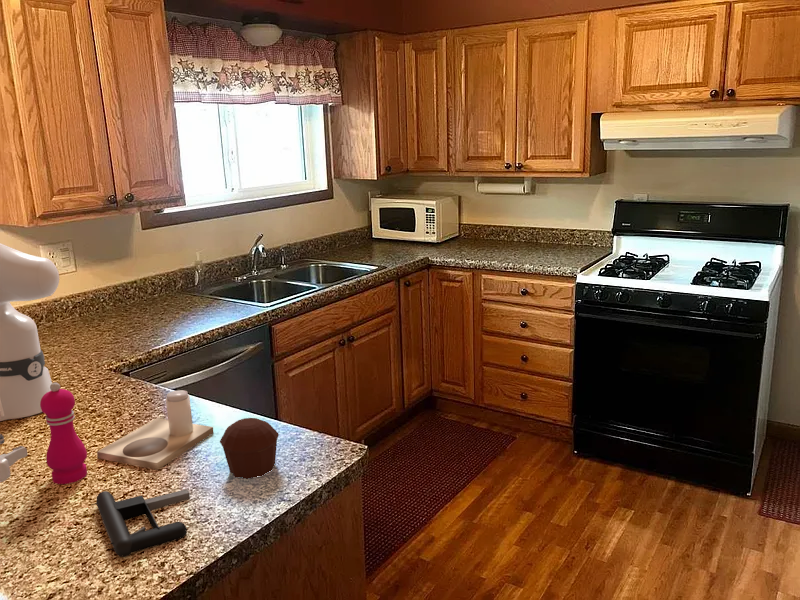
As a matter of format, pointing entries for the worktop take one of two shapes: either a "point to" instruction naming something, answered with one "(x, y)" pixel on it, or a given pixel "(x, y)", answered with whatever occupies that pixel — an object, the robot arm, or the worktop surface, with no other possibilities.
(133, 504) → the door handle
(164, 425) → the condiment board
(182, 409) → the salt shaker
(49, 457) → the pepper mill
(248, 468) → the muffin
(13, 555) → the worktop surface
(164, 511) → the worktop surface
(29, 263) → the robot arm
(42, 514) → the worktop surface
